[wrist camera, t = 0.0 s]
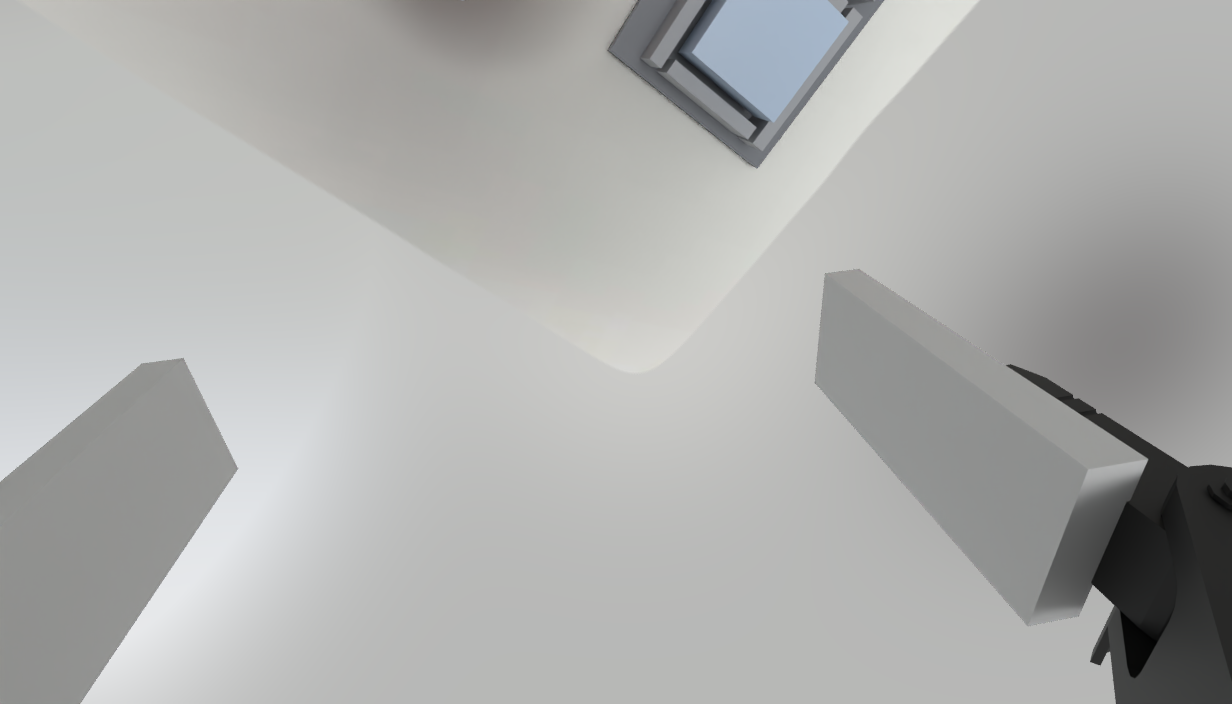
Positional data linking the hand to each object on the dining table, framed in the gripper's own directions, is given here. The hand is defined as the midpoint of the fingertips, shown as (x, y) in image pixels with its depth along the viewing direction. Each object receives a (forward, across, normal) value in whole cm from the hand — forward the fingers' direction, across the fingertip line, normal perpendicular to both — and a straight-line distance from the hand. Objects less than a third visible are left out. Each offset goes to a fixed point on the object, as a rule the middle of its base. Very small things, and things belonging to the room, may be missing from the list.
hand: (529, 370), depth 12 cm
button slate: (+25, +14, +6) cm, 29 cm away
